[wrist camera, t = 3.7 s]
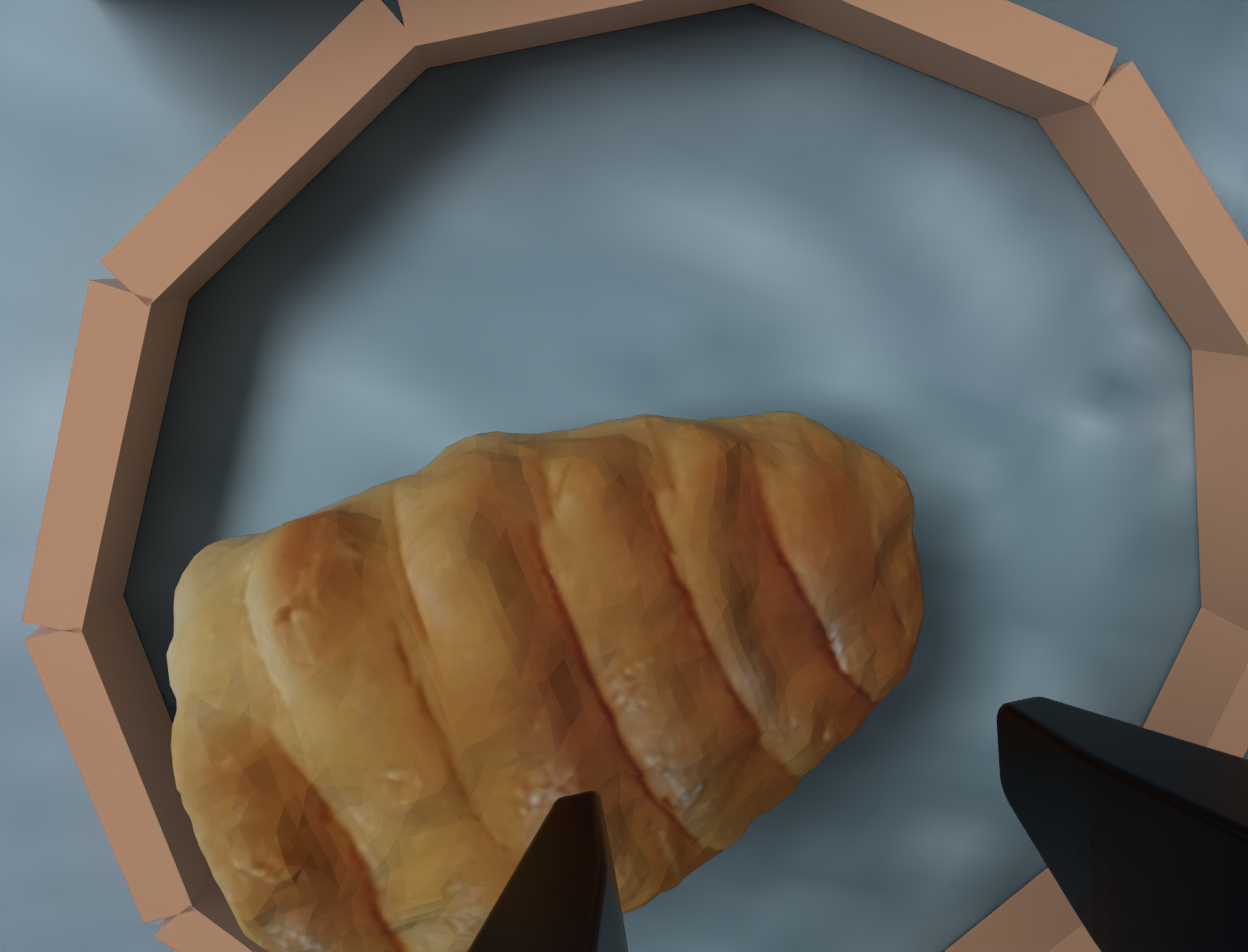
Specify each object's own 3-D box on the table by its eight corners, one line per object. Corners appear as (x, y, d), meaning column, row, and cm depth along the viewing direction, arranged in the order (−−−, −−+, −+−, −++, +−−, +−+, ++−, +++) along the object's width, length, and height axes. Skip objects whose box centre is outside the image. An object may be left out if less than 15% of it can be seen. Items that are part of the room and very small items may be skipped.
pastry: (796, 281, 12) (911, 275, 8) (944, 691, 14) (1097, 839, 10) (171, 551, 12) (7, 666, 8) (390, 933, 14) (334, 1175, 10)
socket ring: (1248, 923, 16) (1306, 974, 15) (303, 1180, 15) (284, 1257, 14) (1222, -151, 12) (1301, -198, 10) (-126, 114, 11) (-206, 95, 9)
